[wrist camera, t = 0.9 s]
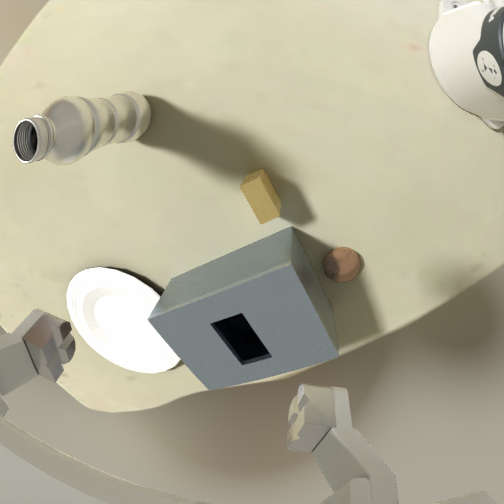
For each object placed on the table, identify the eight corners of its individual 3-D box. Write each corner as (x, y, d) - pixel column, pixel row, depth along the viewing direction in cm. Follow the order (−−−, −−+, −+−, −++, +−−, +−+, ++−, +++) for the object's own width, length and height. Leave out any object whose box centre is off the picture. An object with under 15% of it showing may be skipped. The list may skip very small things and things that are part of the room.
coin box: (291, 226, 40) (291, 264, 31) (332, 309, 46) (338, 356, 37) (171, 278, 46) (147, 319, 38) (221, 345, 52) (209, 390, 43)
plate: (216, 347, 53) (214, 355, 51) (131, 377, 61) (128, 383, 60) (121, 236, 45) (115, 241, 43) (53, 294, 53) (48, 300, 51)
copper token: (351, 240, 40) (353, 244, 39) (363, 269, 42) (364, 274, 41) (318, 254, 42) (319, 258, 41) (331, 282, 44) (332, 286, 43)
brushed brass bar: (262, 167, 37) (258, 177, 33) (281, 202, 39) (279, 216, 35) (245, 176, 38) (239, 186, 34) (264, 209, 40) (260, 224, 35)
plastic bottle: (162, 96, 34) (57, 104, 16) (149, 145, 37) (47, 190, 20) (121, 87, 34) (8, 96, 16) (110, 134, 37) (1, 171, 19)
